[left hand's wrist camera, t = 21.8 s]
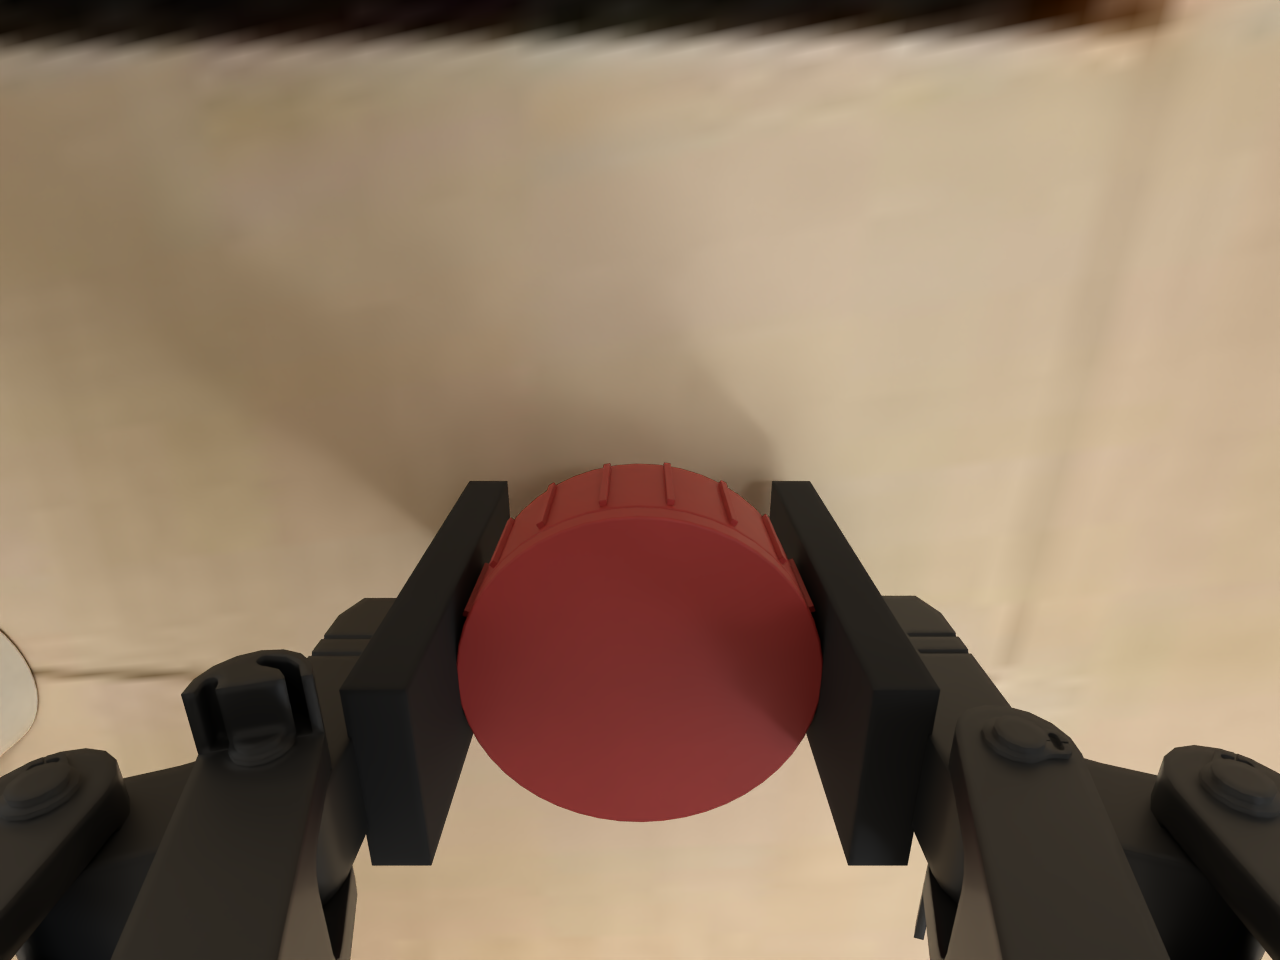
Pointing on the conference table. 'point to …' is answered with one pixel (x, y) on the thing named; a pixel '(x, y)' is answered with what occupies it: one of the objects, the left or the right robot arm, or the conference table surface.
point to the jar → (15, 695)
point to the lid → (639, 646)
